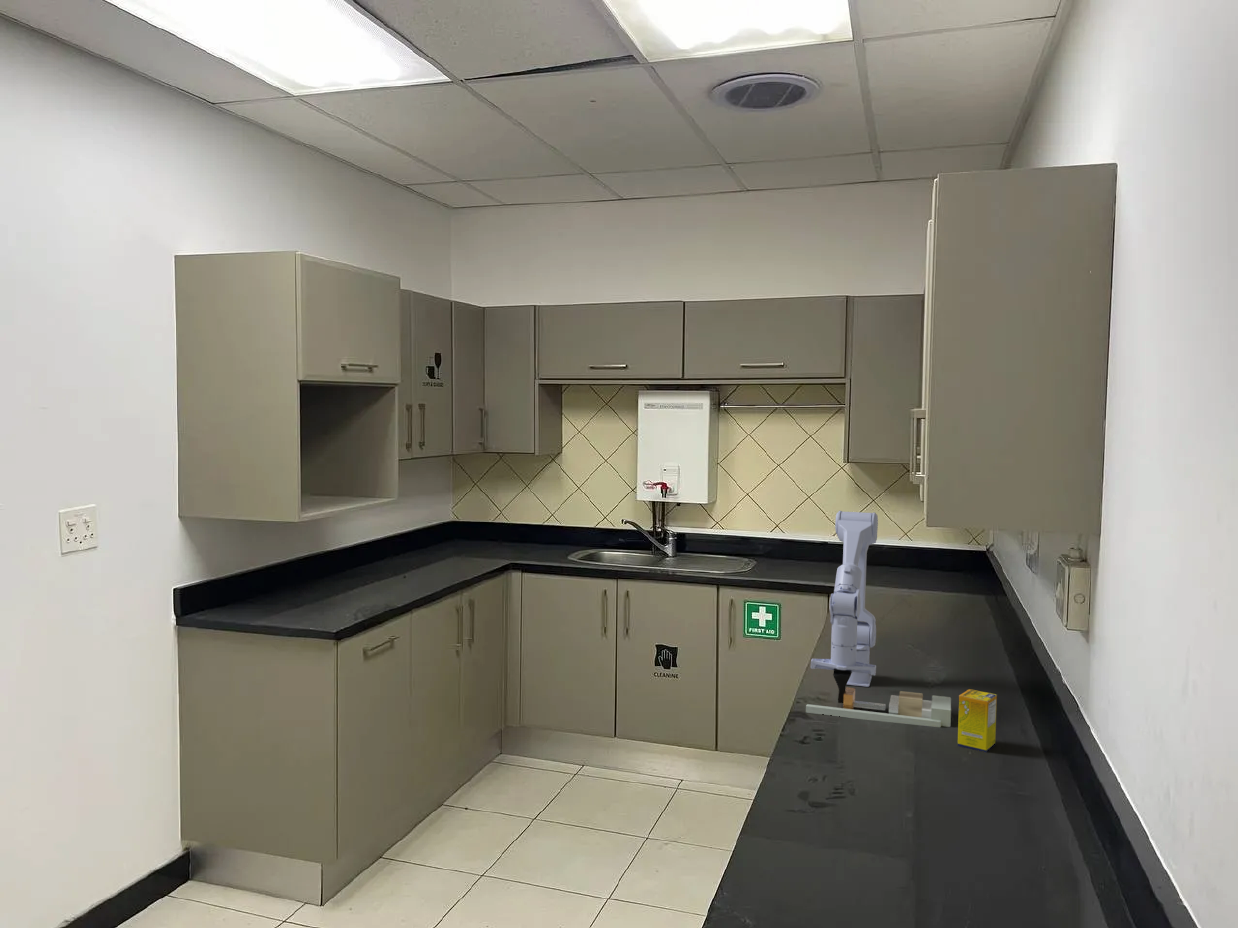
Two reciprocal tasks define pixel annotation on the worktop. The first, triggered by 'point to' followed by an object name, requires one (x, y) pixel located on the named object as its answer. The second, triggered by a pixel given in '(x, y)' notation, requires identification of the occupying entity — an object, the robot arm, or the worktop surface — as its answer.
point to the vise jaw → (851, 703)
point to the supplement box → (977, 720)
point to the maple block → (910, 704)
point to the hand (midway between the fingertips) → (842, 701)
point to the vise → (932, 715)
